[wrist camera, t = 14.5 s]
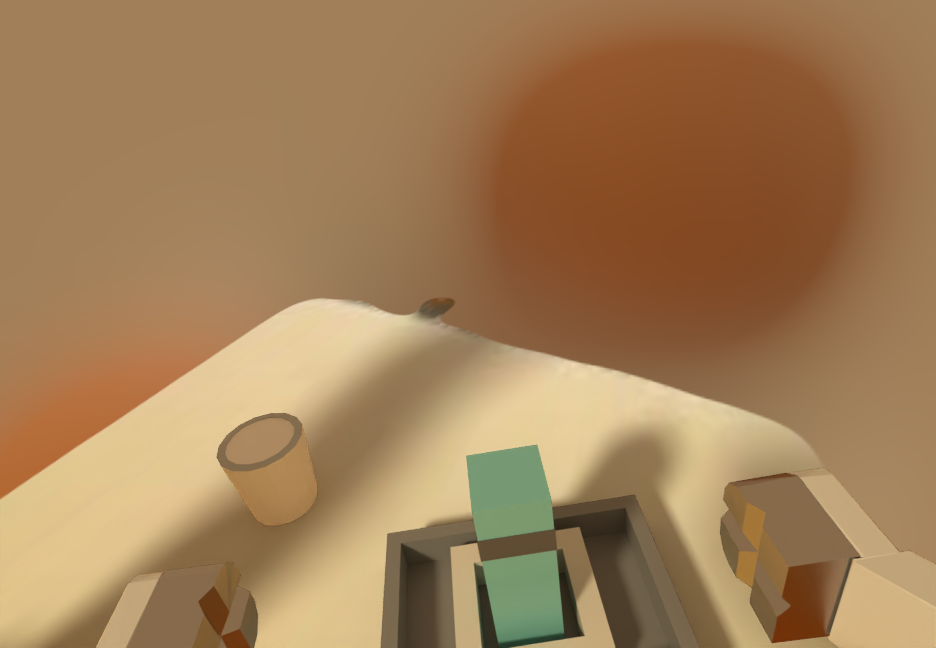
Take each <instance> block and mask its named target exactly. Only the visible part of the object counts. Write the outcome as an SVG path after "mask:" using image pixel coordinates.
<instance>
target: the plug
mask: <svg viewBox="0 0 936 648" xmlns="http://www.w3.org/2000/svg"><path fill="white" fill-rule="evenodd" d="M466 458H467V468H468V478H469V488H470V497H471V507H472V515H473V520H474V525H475V530H476V538H477V545H478V550H479V555H480V560H481V562H482V565H483V570H484V575H485V580H486V585H487V590H488V595H489V600H490V605H491V610H492V615H493V620H494V625H495V630H496V635H497V640H498V645H499V648H511V647H517V646H524V645H530V644H537V643H543V642H550V641H556V640H562V639H565V637H564V626H563V616H562V605H561V595H560V585H559V574H558V564H557V553H556V550H557V542H556V532H555V526H554V522H553V512H552V501H551V496H550V492H549V489H548V485H547V481H546V477H545V473H544V469H543V466H542V462H541V458H540V454H539V450H538V446H537V445H532V446H525V447H519V448H513V449H506V450H500V451H494V452H487V453H481V454H475V455H469V456H466Z"/></svg>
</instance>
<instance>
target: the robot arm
mask: <svg viewBox="0 0 936 648" xmlns="http://www.w3.org/2000/svg"><path fill="white" fill-rule="evenodd" d="M723 500H724V501H725V503H726V505H727V506H728V508H729V510H728V511H727V512H726V513H725V515H724V516H723V517H722V518H721V526H720V535H721V540H722V545H723V550H724V552H725V555H726V558H727V560H728V563H729V565H730V567H731V569H732V570H733V572H734V574H735V576H736V577H737V578H738V579H740V580H741V581H743V582H744V583H746V584H747V585H749V586H750V587H752V591H751V597H750V604H751V606H752V608H753V610H754V611H755V613H756V615H757V617H758V619H759V621H760V622H761V624H762V626H763V628H764V630H765V631H766V633H767V635H768V637H769V639H770V641H771V642H772V643H777V642H785V641H793V640H801V639H809V638H817V637H825V636H829V638H828V639H829V640H830V641H831V642H832V643H834V644H835V645H836V646H837V647H839V648H936V564H935V563H933V562H931V561H929V560H927V559H925V558H923V557H921V556H919V555H918V554H916V553H913V552H912V551H902V552H899V550H898V549H897V548H896V547H895V546H894V545H893V543H891V541H890V540H889V539H888V538H887V537H886V535H885V534H884V533H883V532H882V531H881V530H880V528H879V527H878V526H877V525H876V524H875V523H874V522H873V520H872V519H871V518H870V517H869V516H868V515H867V514H866V512H865V511H864V510H863V509H862V508H861V507H860V505H858V503H857V502H856V501H855V500H854V499H853V497H852V496H851V495H850V494H849V493H848V492H847V490H846V489H845V488H844V487H843V486H842V485H841V484H840V482H839V481H838V480H837V479H836V478H835V477H834V476H833V474H832V473H831V472H830V471H828V470H826V469H824V468H818V469H812V470H805V471H799V472H793V473H783V474H777V475H771V476H765V477H760V478H754V479H748V480H742V481H736V482H730V483H728V485H727V486H726V487H725V491H724V498H723ZM240 576H241V575H240V573H239V571H238V570H237V568H236V567H235V565H234V563H222V564H214V565H206V566H199V567H191V568H183V569H176V570H168V571H162V572H155V573H148V574H141V575H137V576H136V577H135V578H133V579H132V580H131V581H130V582H129V583H128V585H127V586H126V588H125V590H124V592H123V594H122V596H121V598H120V600H119V602H118V604H117V606H116V608H115V610H114V612H113V614H112V616H111V618H110V620H109V622H108V624H107V626H106V628H105V630H104V632H103V634H102V636H101V638H100V640H99V642H98V644H97V646H96V648H254V646H255V641H256V637H257V626H258V613H257V609H256V604H255V601H254V599H253V597H252V595H251V593H250V592H249V591H247V590H245V589H243V588H241V587H239V586H238V583H239V579H240Z"/></svg>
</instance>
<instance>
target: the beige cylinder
mask: <svg viewBox="0 0 936 648" xmlns="http://www.w3.org/2000/svg"><path fill="white" fill-rule="evenodd" d="M217 459H218V461H219V463H220V465H221V467H222V468H223V470H224V471H225V473H226V474H227V476H228V477H229V479H230V480H231V482H232V483H233V485H234V486H235V488H236V489H237V491H238V493H239V494H240V496H241V497H242V499H243V500H244V502H245V503H246V505H247V506H248V508H249V509H250V511H251V512H252V514H253V515H254V517H255V518H256V520H257V521H258V522H260V523H262V524H264V525H270V526H279V525H282V524H286V523H290V522H292V521H294V520H296V519H297V518H299V517H301V516H302V515H304V514H305V513H306V512H307V511H308V510H309V509H310V508H311V507H312V506H313V504H314V502H315V500H316V498H317V495H318V489H317V482H316V478H315V474H314V470H313V466H312V462H311V458H310V454H309V450H308V446H307V442H306V438H305V434H304V430H303V426H302V424H301V423H300V421H299V420H298V419H297V418H296V417H295V416H292V415H289V414H286V413H270V414H266V415H263V416H259V417H255V418H253V419H251V420H249V421H247V422H245V423H243V424H241V425H239V426H238V427H237V428H235V429H234V430H233V431H232V432H230V433H229V434H228V435H227V436H226V437H225V439H224V440H223V441H222V443H221V444H220V445H219V448H218V453H217Z"/></svg>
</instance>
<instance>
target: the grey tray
mask: <svg viewBox="0 0 936 648" xmlns="http://www.w3.org/2000/svg"><path fill="white" fill-rule="evenodd" d="M552 512H553V522H554V526H555V532H556V542H557V550H556V553H557V564H558V574H559V585H560V595H561V605H562V616H563V626H564V637H565V639H562V640H556V641H550V642H543V643H537V644H530V645H524V646H517V647H511V648H700V647H699V644H698V642H697V640H696V637H695V635H694V633H693V630H692V628H691V625H690V623H689V621H688V618H687V616H686V614H685V611H684V609H683V607H682V604H681V602H680V600H679V597H678V595H677V593H676V590H675V588H674V586H673V583H672V581H671V579H670V576H669V574H668V572H667V569H666V567H665V565H664V562H663V560H662V558H661V555H660V553H659V551H658V548H657V546H656V544H655V541H654V539H653V537H652V534H651V532H650V530H649V527H648V525H647V522H646V520H645V518H644V515H643V513H642V511H641V508H640V506H639V504H638V501H637V499H636V497H635V495H630V496H623V497H617V498H611V499H604V500H598V501H592V502H585V503H579V504H573V505H566V506H560V507H553V508H552ZM381 648H499V645H498V640H497V635H496V630H495V625H494V620H493V615H492V610H491V605H490V600H489V595H488V590H487V585H486V580H485V575H484V570H483V565H482V562H481V560H480V555H479V550H478V545H477V538H476V530H475V525H474V520H471V521H464V522H458V523H452V524H445V525H439V526H433V527H426V528H420V529H414V530H407V531H401V532H395V533H388V534H387V550H386V567H385V584H384V601H383V618H382V635H381Z"/></svg>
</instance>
